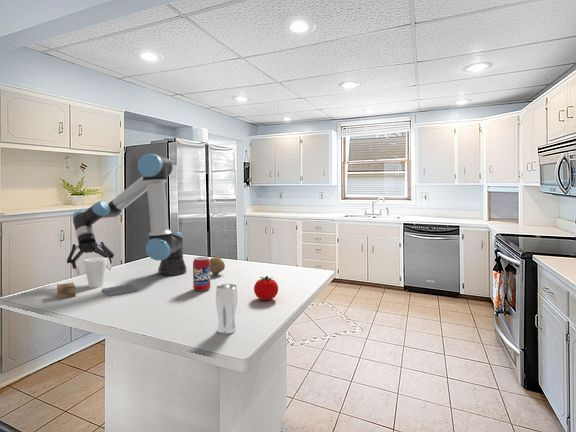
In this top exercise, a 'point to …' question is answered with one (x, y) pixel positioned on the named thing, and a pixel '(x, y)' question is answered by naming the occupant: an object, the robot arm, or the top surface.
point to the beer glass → (226, 307)
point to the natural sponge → (216, 265)
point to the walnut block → (66, 290)
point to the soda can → (201, 274)
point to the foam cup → (95, 271)
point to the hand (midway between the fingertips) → (94, 271)
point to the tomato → (266, 288)
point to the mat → (119, 290)
